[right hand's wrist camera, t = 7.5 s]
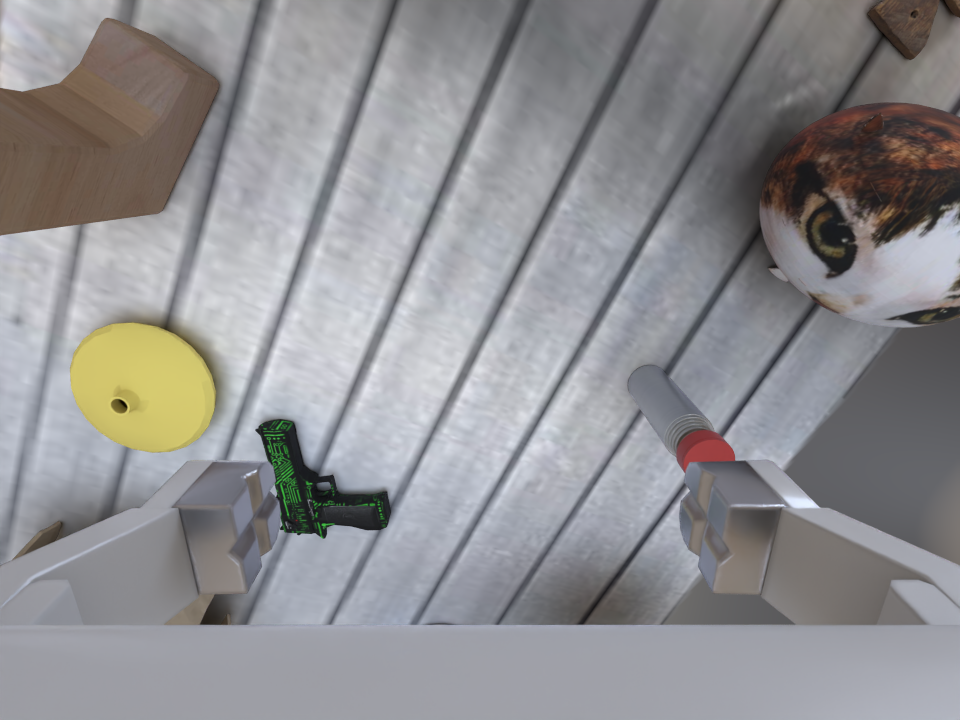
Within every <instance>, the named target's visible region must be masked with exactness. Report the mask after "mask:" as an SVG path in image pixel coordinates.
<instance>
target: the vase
mask: <svg viewBox="0 0 960 720" xmlns="http://www.w3.org/2000/svg"><path fill="white" fill-rule="evenodd" d="M70 377H71V389H72V392H73V394H74V397H75V400H76V403H77V405H78V407H79V408H80V410H81V411H82V413H83V415H84V416H85V418H86V419H87V420H88V421H89V422H90V423H91V424H92V425H93V426H94V427H95V428H96V429H97V430H98V431H99V432H100V433H102V434H103V435H105V436H106V437H108V438H110V439H111V440H113V441H114V442H116V443H119V444H121V445H124V446H126V447H129V448H132V449H136V450H141V451H147V452H152V453H153V452H171V451H174V450H177V449H181V448H184V447H186V446H188V445H189V444H191V443H192V442H194V441H195V440H197V439H199V437H200V436H201V435H202V434H203V432H204V431H205V430H206V429H207V428H208V426H209V423H210V421H211V418H212V415H213V413H214V409H215V399H216V390H215V386H214V382H213V378H212V375H211V373H210V371H209V369H208V367H207V365H206V364H205V362H204V360H203V359H202V358H201V357H200V355H199V354H198V353H197V352H196V351H195V350H194V349H193V347H192V346H191V345H189V344H188V343H186V342H185V341H184V340H182V339H181V338H180V337H178V336H177V335H175V334H173V333H171V332H169V331H166V330H164V329H162V328H160V327H157V326H152V325H146V324H141V323H117V324H111V325H108V326H105V327H102V328H99V329H96V330H95V331H94V332H92V333H91V334H90V335H88V336H87V337H86V338H84V339H83V340H82V342H81V343H80V345H79V346H78V348H77V349H76V351H75V352H74V355H73V359H72V363H71V367H70Z"/></svg>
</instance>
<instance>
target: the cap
mask: <svg viewBox="0 0 960 720" xmlns="http://www.w3.org/2000/svg"><path fill="white" fill-rule="evenodd" d="M676 458H677V461H678V463H679V465H680V467H681V468H682V470H683V471H684V473H685V472H686V469H687V466H688V464H689V462H708V461H735V454H734V451H733V449H732V448H731V447H730V445H729V444H728V443H727V442H726V441H725V440H724V439H723V438H722V437H721V436H720V435H719V434H718V433H716V432H713V431H710V430H699V431H695V432H693V433H691V434H689V435H687V436H686V437H685V438H684V439H683V440H682V441H681V442H680V444H679V445H678V448H677V452H676Z"/></svg>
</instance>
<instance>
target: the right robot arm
mask: <svg viewBox="0 0 960 720" xmlns="http://www.w3.org/2000/svg"><path fill="white" fill-rule="evenodd" d="M275 482H276V479H275V473H274V468H273V466H272V465H271V463H270V462H269V461H226V460H219V461H217V460H193V461H187V462H186V463H185V464H184V465H183V466H182V467H181V468H180V469H179V470H178V471H177V472H176V473H175V474H174V475H173V476H172V477H171V478H170V479H169V480H168V481H167V482H166V483H165V484H164V485H163V486H162V487H161V488H160V489H159V490H158V491H157V492H156V493H155V494H154V495H153V496H152V497H151V498H150V499H149V500H147V501H146V502H145V503H144V504H143V505H142V506H141V507H140V508H130V509H128V510H126V511H123V512H121V513H119V514H116V515H114V516H112V517H110V518H107V519H105V520H103V521H100V522H98V523H96V524H94V525H91V526H89V527H87V528H84V529H82V530H80V531H78V532H75V533H73V534H71V535H68V536H66V537H64V538H62V539H59V540H57V541H55V542H52V543H50V544H48V545H46V546H43V547H41V548H39V549H36V550H34V551H32V552H30V553H27V554H25V555H23V556H21V557H18V558H16V559H14V560H11V561H9V562H7V563H5V564H2V565H0V720H960V565H957V564H955V563H953V562H951V561H948V560H946V559H944V558H941V557H939V556H937V555H935V554H932V553H930V552H928V551H926V550H923V549H921V548H919V547H916V546H914V545H912V544H910V543H907V542H905V541H903V540H900V539H898V538H896V537H894V536H891V535H889V534H887V533H885V532H882V531H880V530H878V529H875V528H873V527H871V526H869V525H866V524H864V523H862V522H859V521H857V520H855V519H853V518H850V517H848V516H846V515H843V514H841V513H839V512H837V511H834V510H832V509H830V508H820V507H819V506H818V505H817V504H816V503H815V502H814V501H813V500H811V498H810V497H808V496H807V495H806V494H805V493H804V492H803V491H802V490H801V489H800V488H799V487H798V486H797V485H796V484H795V483H794V482H793V481H792V480H791V479H790V478H789V477H788V476H787V475H786V474H785V473H784V472H783V471H782V470H781V469H780V468H779V467H778V466H777V465H776V464H775V463H774V462H772V461H769V460H748V461H708V462H689V464H688V466H687V469H686V472H685V478H684V482H685V484H686V485H687V487H688V488H689V490H690V492H689V493H688V494H687V495H686V496H685V497H684V498H683V499H682V500H681V505H680V513H679V519H680V529H681V533H682V536H683V539H684V542H685V543H686V545H687V547H688V549H689V550H690V551H692V552H693V553H695V554H696V555H698V556H699V557H700V558H699V564H698V567H699V569H700V571H701V573H702V575H703V576H704V578H705V580H706V582H707V584H708V585H709V587H710V589H711V591H712V592H713V593H714V594H750V595H761V597H762V598H763V599H764V600H766V601H767V602H768V603H769V604H771V605H772V606H773V607H775V608H776V609H777V610H778V611H780V612H781V613H782V614H784V615H785V616H786V617H787V618H789V619H790V620H791V621H793V622H794V623H795V624H796V625H164V624H165V623H166V622H168V621H169V620H170V619H171V618H173V617H174V616H175V615H177V614H178V613H179V612H180V611H182V610H183V609H184V608H186V607H187V606H188V605H189V604H191V603H192V602H193V601H195V600H196V599H197V598H198V597H199V595H209V594H245V593H248V591H249V589H250V587H251V585H252V584H253V582H254V580H255V578H256V576H257V575H258V573H259V571H260V569H261V567H262V564H261V558H260V557H261V556H262V555H264V554H265V553H267V552H268V551H270V550H271V549H272V547H273V545H274V543H275V541H276V539H277V536H278V532H279V528H280V517H281V511H280V504H279V500H278V499H277V498H276V497H275V496H274V495H273V494H272V493H271V492H270V490H271V488H272V487H273V485H274V484H275Z"/></svg>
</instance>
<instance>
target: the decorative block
mask: <svg viewBox="0 0 960 720" xmlns="http://www.w3.org/2000/svg"><path fill="white" fill-rule="evenodd" d="M218 89H219V83H218V82H217V80H216V79H215V78H214V77H213V76H212V75H210V74H209V73H207V72H206V71H204V70H203V69H201V68H200V67H199V66H197V65H196V64H194V63H193V62H191V61H190V60H188V59H187V58H185V57H184V56H183V55H181V54H180V53H178V52H177V51H175V50H174V49H172V48H171V47H170V46H168V45H167V44H165V43H164V42H162V41H161V40H159V39H158V38H156V37H155V36H153V35H151V34H149V33H146V32H144V31H141V30H139V29H136V28H134V27H132V26H129V25H127V24H124V23H122V22H120V21H117V20H115V19H110V18H105V19H104V20H103V21H102V22H101V24H100V26H99V28H98V30H97V32H96V34H95V36H94V38H93V39H92V41H91V43H90V45H89V47H88V49H87V51H86V53H85V55H84V57H83V59H82V61H81V63H80V64H79V65H78V66H77V67H76V68H75V69H74V70H73V71H72V72H71V73H70V74H69V75H68V76H67V77H66V78H65V79H64V80H63V81H62V82H61V83H59V84H55V85H51V86H46V87H42V88H37V89H33V90H28V91H24V92H21V91H15V90H9V89H3V88H0V235H6V234H13V233H21V232H28V231H35V230H42V229H50V228H57V227H64V226H71V225H79V224H86V223H93V222H100V221H108V220H115V219H122V218H129V217H137V216H144V215H151V214H158V213H160V212H161V211H162V210H163V208H164V206H165V204H166V201H167V199H168V197H169V195H170V193H171V191H172V188H173V186H174V184H175V182H176V180H177V178H178V175H179V173H180V171H181V169H182V167H183V165H184V162H185V160H186V158H187V156H188V154H189V152H190V149H191V147H192V145H193V143H194V141H195V139H196V136H197V134H198V132H199V130H200V128H201V126H202V123H203V121H204V119H205V117H206V115H207V113H208V110H209V108H210V106H211V104H212V102H213V100H214V97H215V95H216V93H217V91H218Z"/></svg>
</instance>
